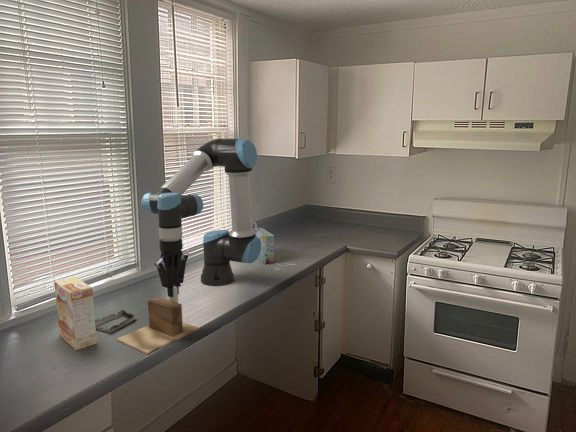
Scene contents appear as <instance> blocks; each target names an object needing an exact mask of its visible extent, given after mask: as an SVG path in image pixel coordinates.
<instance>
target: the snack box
mask: <svg viewBox="0 0 576 432" xmlns="http://www.w3.org/2000/svg"><path fill="white" fill-rule="evenodd" d="M252 229H253V230H254V231H255V234H256V237H258V238H259V239H260V240H261V251H260V254H259V256H258V258H257V259H259V260H260V261H261V262H262V263H263V262H264V263H265V264H264V265H268V264H267V263H273V264H275V235H274V234H272V233H271V232H269V231H267V230H266V229H265V228H263V227H254V228H253V227H252Z"/></svg>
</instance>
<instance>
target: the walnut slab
mask: <svg viewBox="0 0 576 432" xmlns="http://www.w3.org/2000/svg"><path fill="white" fill-rule="evenodd" d="M147 306H148V307H147V308H148V309H147V310H148V325H149V328H151V329H154V330H156V331H159V332H161V333H164V334H167V335H169V336H172V337H173V336H175V335H178V334H180V333H182V332H183V325H182V322H183V313H182V312H183V311H182V310H183V309H182V308H183V307H182V303H179V302H178V303H176V302H173V301H170V300H169V299H166V298H163V297H160V296H157V297H154V298H151V299H149V300H147Z"/></svg>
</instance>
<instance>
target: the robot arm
mask: <svg viewBox="0 0 576 432" xmlns="http://www.w3.org/2000/svg"><path fill="white" fill-rule="evenodd" d="M257 161H258V153H257V147H256V146H255V144H254V143H253V142H252V141H251V140H249V139H245V138H216V139H212V140H209V141H208V142H205V143H204V144H202V145H201V146H200V147H198V148H197V149H196V150H195V151H194V152H193V153H192V154H191V157H190V159H189V160H188V161H187V162H185V164H184V165H183V166H181V167H180V169H178V171H176V172H175V173H174V174H173V175H171V177H170V178H169V179H168V180H166V182H165V183H163V184H162V186H160V187H159V188H158V189H157V190H156V191H155V192H147V193H145V194H143V196H142V199H141V203H140V204H141V208H142V210H143V211H145V212H146V213H148V214H153V215H157V218H158V235H159V236H158V238H159V239H160V240H159V251H160V256H159V257H160V258H159V260H158V261H155V262H154V265H155V267H156V270H157V272H158V276H159V279H160V282H161V283H160V284H161V287H163V288H166V289H167V290H166V291H167V297H168V300H170V301H173V302H176V303H179V298H178V297H179V294H180V291H179V289H180V288H179V287H181V286H182V284H183V283H184V279H185V272H186V265H187V261H188V259H189V255H188V254H184V253H183V251H182V250H183V248H184V247H183V246H184V245H183V239H182V238H183V225H182V223H183V222H182V219H186V218H189V217H194V216H196V215H198V214H200V213H201V212H202V211H203V209H204V201H203V199H202V197H201V196H200V195H197V194H191V193H190V194H187V195H184V193H185V192H186V191H187V190H188V189H189V188H190V187H191V186H192V185H193V184H194V183H195V182H196V181H198V179H199V178H200V177H201V176H202V175H203V174H204V173H206V172H209V171H210V170H211V169H212V168H217V167H224V173H225V174H226V175H227V176H228V184H229V185H228V189H229V199H230V200H229V201H230V215H231V230H230V231H229V230H228V229H217V230H213V231H208V232H205V233H204V234H203V239H202V240H203V241H202V246H203V268H202V272H201V275H200V282H201V283H202V284H203V285H207V286H214V287H215V286H224V285H229V284H231V283H233V282H234V281H235V273H234V272H233V269H232V266H231V262H235V263H237V262H238V263H242V264H253V263H255V262H256V261H257V260H258V259H259V258H258V256H259V254H260V251H261V240H260V239H259V238H258V237H256V234H255V231H254V230H253V225H252V210H251V209H252V208H251V207H252V206H251V205H252V204H251V187H250V174H251V173H252V172H253V168H255V167H256V166H257V165H256V164H257V163H258V162H257ZM230 261H231V262H230Z"/></svg>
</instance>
